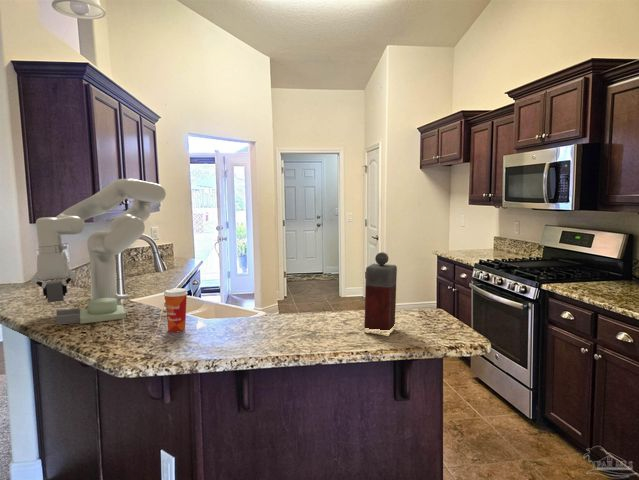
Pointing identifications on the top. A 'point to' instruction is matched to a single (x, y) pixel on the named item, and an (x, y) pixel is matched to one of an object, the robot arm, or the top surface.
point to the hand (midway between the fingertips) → (55, 295)
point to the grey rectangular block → (54, 291)
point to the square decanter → (380, 294)
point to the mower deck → (102, 317)
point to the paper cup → (176, 309)
